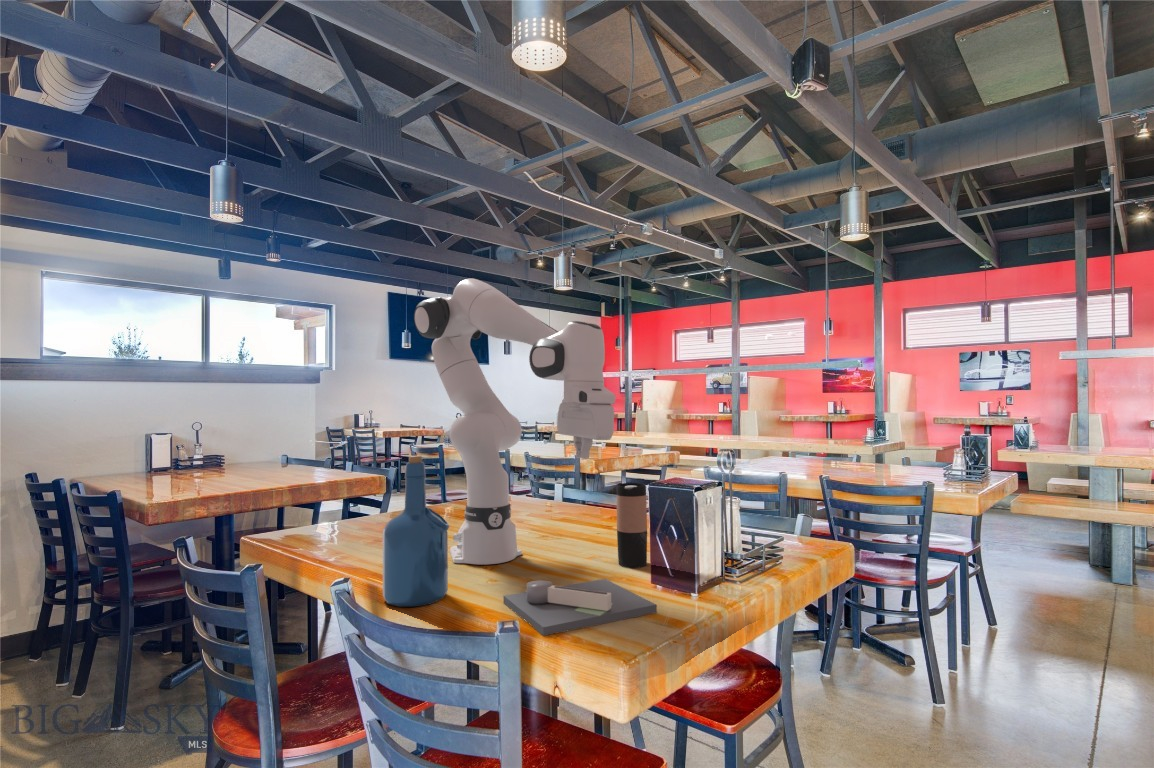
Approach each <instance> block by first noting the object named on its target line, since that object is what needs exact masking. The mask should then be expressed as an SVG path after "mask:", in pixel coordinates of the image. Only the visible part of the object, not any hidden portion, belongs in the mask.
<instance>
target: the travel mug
mask: <svg viewBox="0 0 1154 768" xmlns="http://www.w3.org/2000/svg"><path fill="white" fill-rule="evenodd" d="M647 506H648V505H647V486H646V484H645V483H639V482H638V483H637V482H625V483H619V484H616V535H617V538H616V539H617V558H618V559H617V560H618V565H619V566H620V567H622V568H623V567H624V568H627V567H629V568H630V569H638V568H644V567H646V566H647V563H648V519H647V518H648V513H647V512H648V511H647ZM629 568H628V569H629Z"/></svg>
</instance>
